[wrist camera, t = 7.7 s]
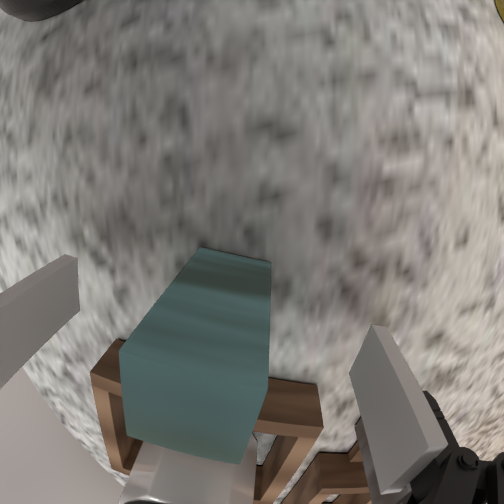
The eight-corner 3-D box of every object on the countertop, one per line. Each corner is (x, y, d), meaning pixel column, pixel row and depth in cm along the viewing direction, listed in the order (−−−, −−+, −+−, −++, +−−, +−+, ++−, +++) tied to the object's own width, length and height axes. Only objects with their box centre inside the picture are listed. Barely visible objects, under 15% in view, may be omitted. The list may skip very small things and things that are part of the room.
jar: (211, 466, 23) (190, 569, 12) (140, 424, 22) (93, 530, 11) (278, 432, 21) (276, 564, 10) (199, 380, 20) (151, 529, 8)
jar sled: (118, 228, 17) (-5, 296, 7) (358, 281, 17) (431, 401, 7) (126, 439, 23) (90, 517, 13) (271, 473, 23) (267, 560, 13)
